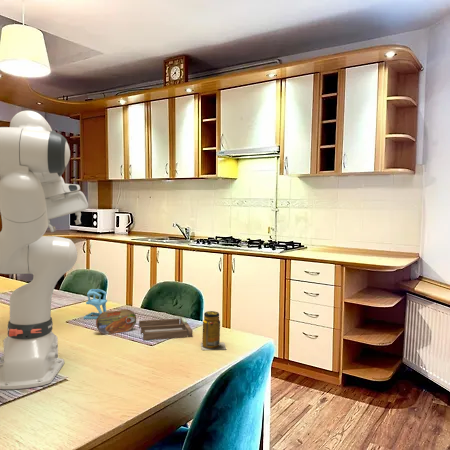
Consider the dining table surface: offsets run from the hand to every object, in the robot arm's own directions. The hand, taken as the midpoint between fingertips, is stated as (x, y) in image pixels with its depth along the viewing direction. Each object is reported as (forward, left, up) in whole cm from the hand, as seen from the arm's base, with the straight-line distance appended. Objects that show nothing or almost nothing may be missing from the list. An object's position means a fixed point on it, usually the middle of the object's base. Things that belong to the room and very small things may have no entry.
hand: (66, 227), depth 155 cm
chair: (+18, -11, -39) cm, 45 cm away
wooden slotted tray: (-7, -35, -39) cm, 53 cm away
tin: (-3, -18, -39) cm, 44 cm away
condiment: (-26, -50, -39) cm, 69 cm away
